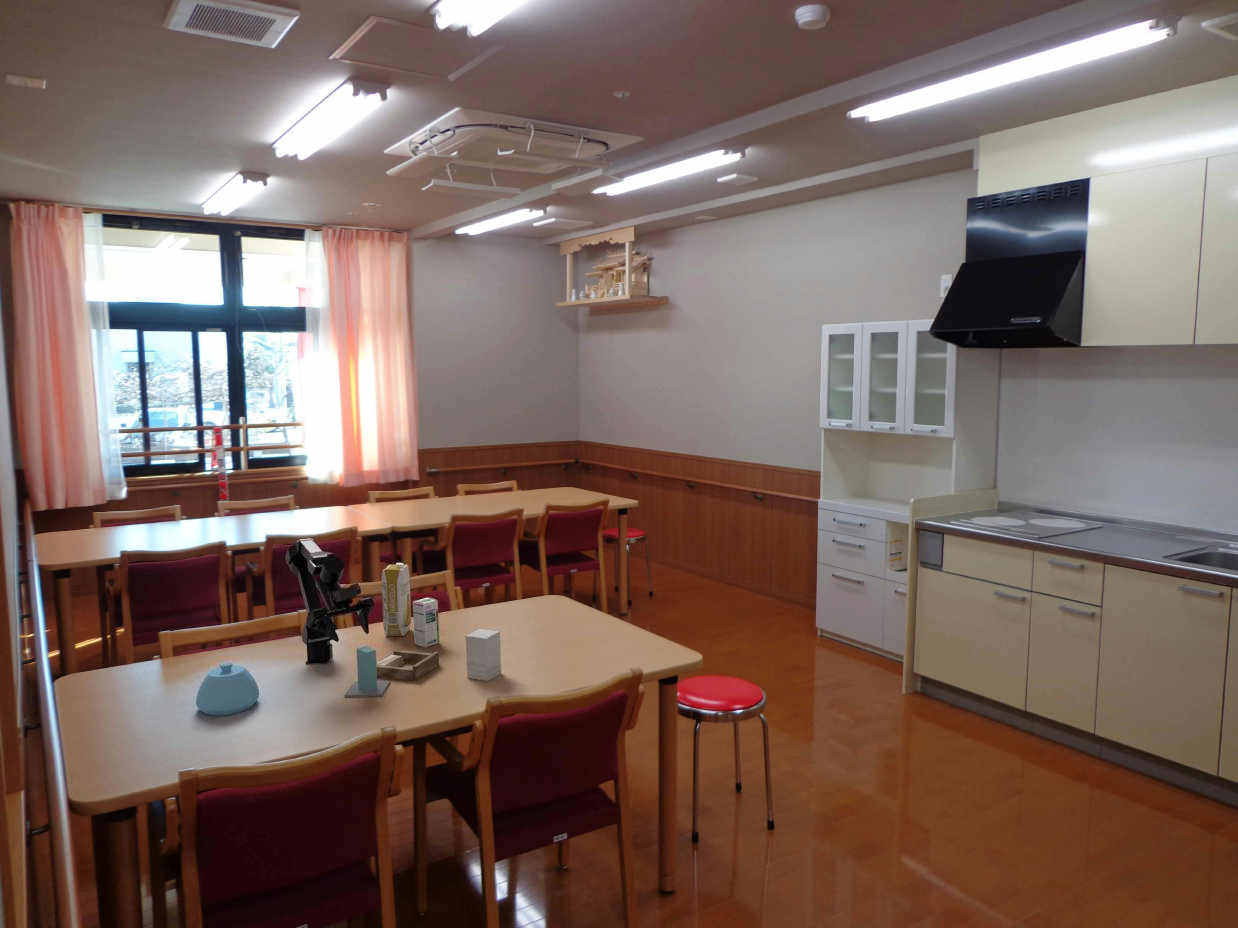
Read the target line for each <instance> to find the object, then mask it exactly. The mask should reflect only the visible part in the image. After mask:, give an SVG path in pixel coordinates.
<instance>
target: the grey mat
mask: <svg viewBox="0 0 1238 928" xmlns="http://www.w3.org/2000/svg"><path fill="white" fill-rule="evenodd" d="M390 684H391V680H377V689H374V690H371V691H368V692H367V691H365V690H363V689H361V688H359V687H358V680H357V681H353V683H352V684H351V685H350V687H349V688H348V689H347V691H346V692H345V693H344V695H343V698H367V697H368V698H369V697H374V698H375V697H378V698H379V697H380V698H381V697H383V695H384V694H385V692H386V691H387V689H388V687H389V686H388V685H390ZM386 688H387V689H386Z"/></svg>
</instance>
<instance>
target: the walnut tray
mask: <svg viewBox="0 0 1238 928" xmlns="http://www.w3.org/2000/svg"><path fill="white" fill-rule="evenodd" d="M391 655H398V656H402V658H403V661H404V663H409V662H413V663H412V664H414V665H412V668H409V667H401V666H399V667H391V666H382V665H376V666H377V676H378V677H377V678H385V677H387V678H388V679H394V678H395V679H396V680H405V681H418V680H419V679H421V678H422V677H424V676H425V675H427V674H428V673H429V671H430V672H431V671H433V670H434V669H435V668H437V667H438V666H439V665H440V651H434V652H432V653H430V652H429V653H428V652H420V651H419V652H418V651H411V650H410V651H408V650H399V649H398V650H397V649H394V650H393V652H392V653H389V654H388V655H386V656H384V657H383V658H381V659H379V660H378V661H377V660H376V663H377V662H379V661H381V660H383V659H385V658H387V657H389V656H391ZM423 675H424V676H423ZM387 678H386V679H387Z"/></svg>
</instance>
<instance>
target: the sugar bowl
mask: <svg viewBox="0 0 1238 928" xmlns="http://www.w3.org/2000/svg"><path fill="white" fill-rule="evenodd" d="M259 697H260V689H259V686H258V682H257V681H256V679H255V677H254V676H253V675H252V674H251V673H250V671H249V670H248V669H247V668H246V667H245V666H243V665H236V664H235V665H234V664H233V663H232V662H223V663H220V665H219V667H216V668H213V669H211V670H210V671H209V672H208V673H206V675H205V677H204V678H203V680H202V682H201V684H200V686H199V687H198V691H197V694H196V700H195V703H196V705H195V706H196V707H197V708H198V709H199V710H200V711H201V712H202V713H204V714H205V715H208V716H215V717H217V716H219V717H220V716H222V717H223V716H229V715H234V714H238V713H241V712H243V711H247V710H248V709H250V708H251V707H253V706H254V705H255V703H256V701H257V700H258V699H259Z"/></svg>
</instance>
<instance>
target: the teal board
mask: <svg viewBox="0 0 1238 928" xmlns="http://www.w3.org/2000/svg"><path fill="white" fill-rule="evenodd" d="M376 662H377V649H375V648H372V647H370V646H368V645H365V646H361V647H358V648H356V669H357V670H356V671H357V681H358V687H359V688H361V689H363V690H365V691H367V692H368V691H371V690H374V689H377V681H378V677H377V666H376Z"/></svg>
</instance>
